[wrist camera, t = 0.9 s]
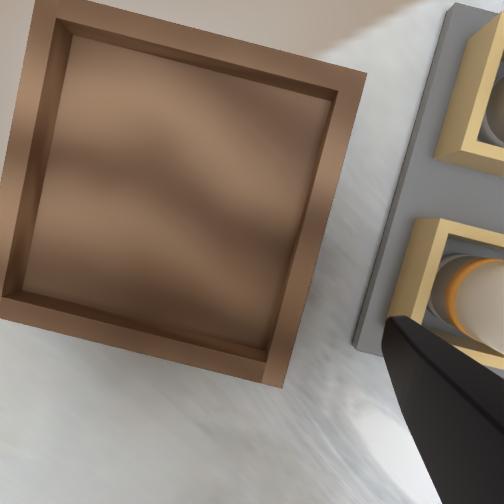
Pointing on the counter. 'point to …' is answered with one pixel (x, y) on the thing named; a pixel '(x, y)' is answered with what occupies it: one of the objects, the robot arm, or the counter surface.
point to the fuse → (494, 116)
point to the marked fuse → (471, 297)
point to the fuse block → (443, 187)
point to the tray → (168, 187)
